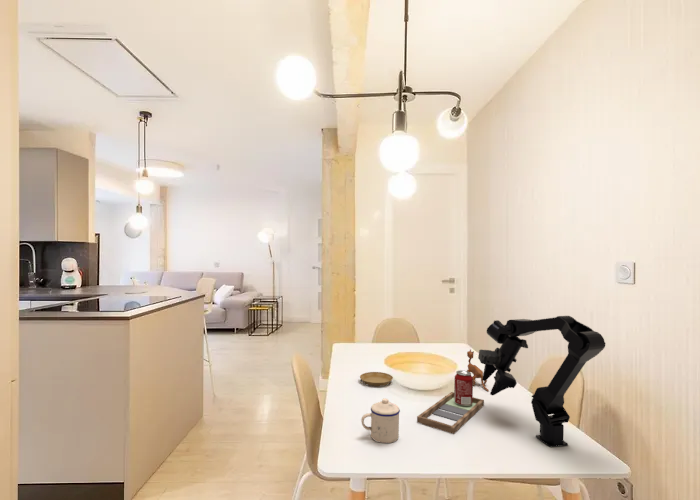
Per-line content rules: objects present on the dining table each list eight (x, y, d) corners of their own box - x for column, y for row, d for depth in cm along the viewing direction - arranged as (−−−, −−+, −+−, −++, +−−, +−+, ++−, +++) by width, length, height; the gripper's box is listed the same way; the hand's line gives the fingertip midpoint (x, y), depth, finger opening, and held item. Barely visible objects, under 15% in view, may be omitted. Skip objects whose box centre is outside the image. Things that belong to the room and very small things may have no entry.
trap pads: (461, 422, 128) (461, 421, 128) (432, 413, 134) (432, 413, 134) (472, 412, 136) (472, 411, 136) (444, 404, 143) (444, 404, 143)
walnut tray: (453, 434, 119) (453, 427, 119) (417, 422, 127) (417, 416, 127) (483, 405, 143) (483, 400, 143) (451, 396, 151) (451, 391, 151)
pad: (472, 412, 137) (472, 411, 137) (445, 404, 143) (445, 403, 143) (480, 405, 143) (480, 404, 143) (453, 398, 150) (453, 397, 150)
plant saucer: (370, 390, 157) (370, 384, 157) (354, 380, 170) (354, 374, 170) (399, 385, 164) (399, 379, 164) (381, 375, 177) (381, 370, 177)
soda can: (473, 408, 139) (474, 376, 139) (454, 406, 141) (455, 374, 141) (471, 401, 146) (471, 370, 146) (453, 399, 147) (453, 369, 147)
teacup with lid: (395, 429, 122) (396, 393, 122) (402, 443, 113) (403, 404, 113) (359, 430, 120) (359, 394, 121) (363, 445, 111) (364, 405, 112)
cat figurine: (495, 393, 158) (496, 361, 158) (481, 394, 157) (482, 361, 157) (473, 377, 176) (474, 348, 176) (460, 378, 175) (461, 349, 174)
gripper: (479, 331, 141) (460, 365, 144) (496, 355, 123) (474, 394, 126) (506, 342, 141) (486, 376, 145) (527, 368, 123) (504, 406, 126)
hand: (487, 387), depth 135 cm, fingers open, 9 cm apart
